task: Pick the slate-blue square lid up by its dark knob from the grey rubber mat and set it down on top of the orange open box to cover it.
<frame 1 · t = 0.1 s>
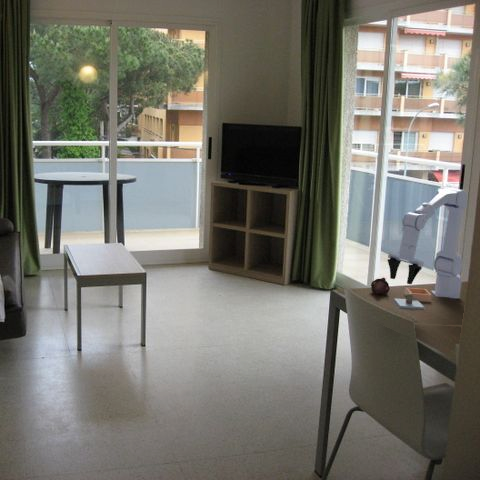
hand: (400, 281, 253), 10 cm above the table, tool pointing down, fingers open, 7 cm apart
orange open box: (417, 299, 267), on the table
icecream: (379, 295, 271), on the table
mat: (408, 306, 258), on the table
lid: (408, 304, 258), point 1 cm above the table, touching mat
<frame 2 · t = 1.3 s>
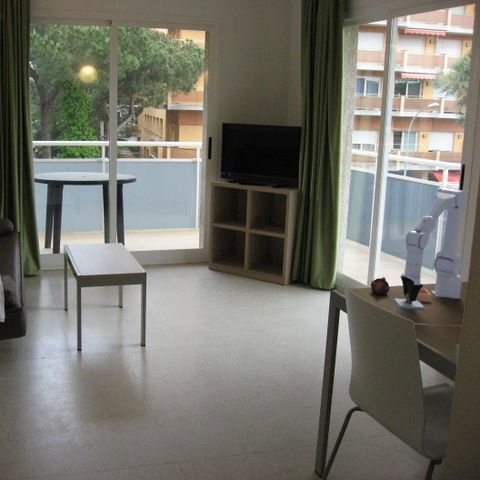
hand: (409, 297, 258), 3 cm above the table, tool pointing down, fingers open, 7 cm apart
nothing on the table moved.
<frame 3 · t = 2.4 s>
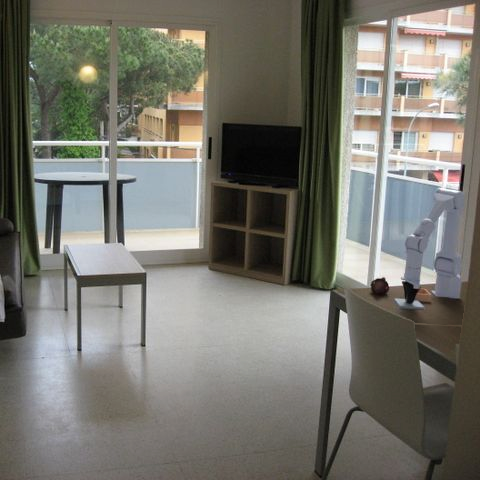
hand: (409, 301, 258), 2 cm above the table, tool pointing down, fingers closed on lid, 2 cm apart
lid: (408, 304, 258), point 1 cm above the table, touching gripper, mat
everything else where it was.
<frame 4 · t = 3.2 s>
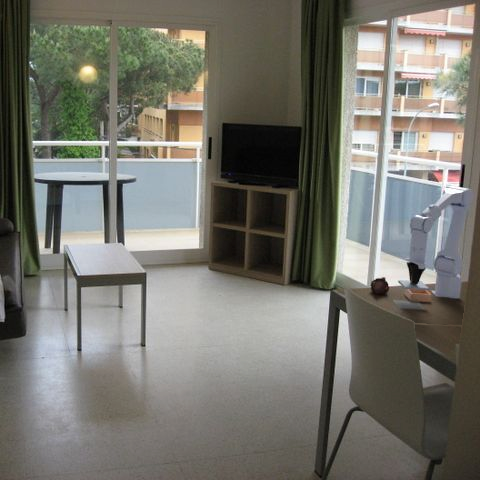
hand: (413, 282, 259), 9 cm above the table, tool pointing down, fingers closed on lid, 2 cm apart
lid: (413, 286, 259), point 7 cm above the table, touching gripper
everything else where it was.
when the fingers open (6 cm above the table, at t = 4.4 s): lid stays where it is, resting on orange open box.
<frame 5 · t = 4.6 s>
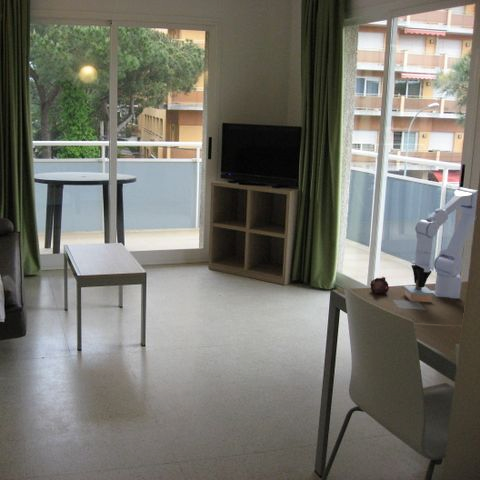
hand: (419, 285, 266), 6 cm above the table, tool pointing down, fingers open, 4 cm apart
lid: (418, 291, 267), point 3 cm above the table, touching orange open box
everything else where it was.
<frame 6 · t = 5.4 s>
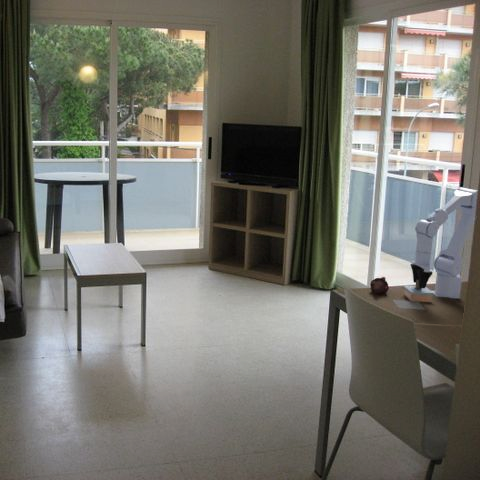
hand: (419, 285, 266), 6 cm above the table, tool pointing down, fingers open, 7 cm apart
nothing on the table moved.
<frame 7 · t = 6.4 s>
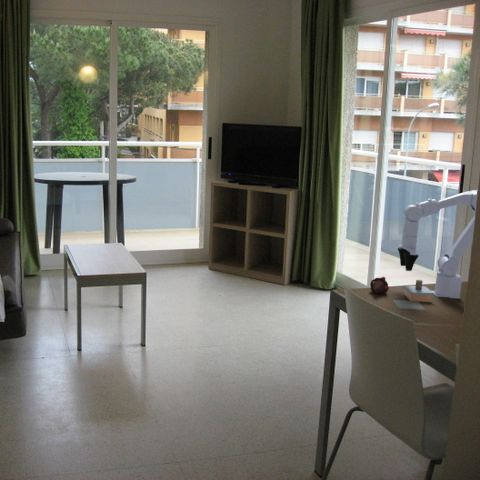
hand: (405, 268, 275), 10 cm above the table, tool pointing down, fingers open, 7 cm apart
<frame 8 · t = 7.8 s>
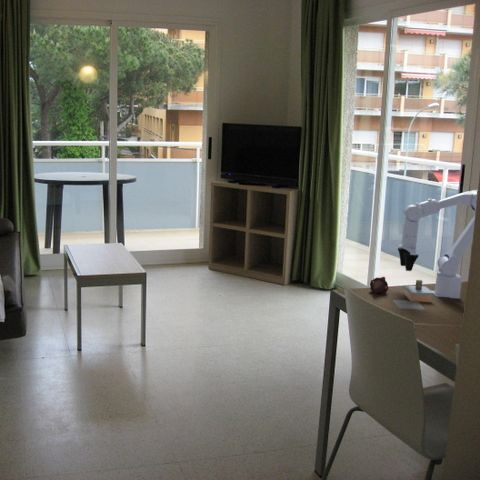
hand: (405, 268, 275), 10 cm above the table, tool pointing down, fingers open, 7 cm apart
at the end: lid 0.1 cm off-centre on the orange open box, point 3.5 cm above the orange open box's base; lid tilted 0°; the gripper is holding nothing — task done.
